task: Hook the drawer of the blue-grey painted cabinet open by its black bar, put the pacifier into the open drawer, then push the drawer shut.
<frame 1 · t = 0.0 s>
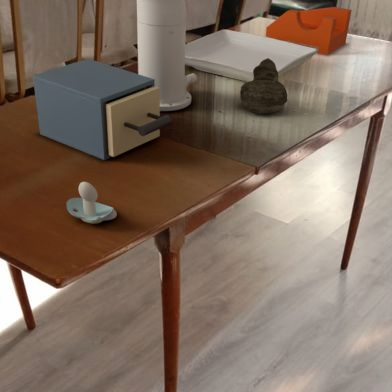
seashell: (258, 111, 130), on the table
square plate: (243, 66, 152), on the table
pacifier: (94, 218, 95), on the table
cabinet: (97, 135, 117), on the table
tape dispenser: (305, 43, 169), on the table
drawer: (114, 114, 112), point 5 cm above the table, slide at 0.5 cm
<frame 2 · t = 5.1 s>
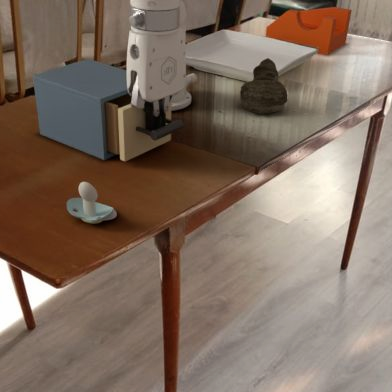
hand: (155, 135, 108), 4 cm above the table, tool pointing down, fingers closed
drawer: (126, 118, 111), point 5 cm above the table, slide at 3.2 cm
everything else where it was.
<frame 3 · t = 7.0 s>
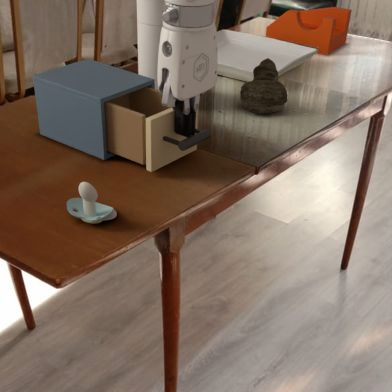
hand: (184, 133, 105), 6 cm above the table, tool pointing down, fingers closed
drawer: (151, 127, 108), point 5 cm above the table, slide at 9.2 cm
everything else where it was.
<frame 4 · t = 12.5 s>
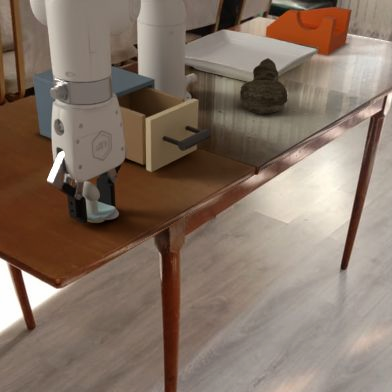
hand: (92, 211, 94), 1 cm above the table, tool pointing down, fingers closed on pacifier, 5 cm apart
pacifier: (96, 217, 95), on the table, touching gripper
everything else where it was.
when the fingers open (9 cm above the table, at t = 18.2 s): pacifier drops 6 cm, resting on drawer.
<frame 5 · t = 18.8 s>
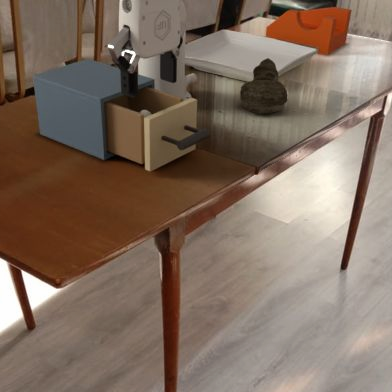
hand: (149, 88, 104), 12 cm above the table, tool pointing down, fingers open, 9 cm apart
pacifier: (150, 144, 111), point 2 cm above the table, touching drawer
drawer: (150, 127, 108), point 5 cm above the table, slide at 8.9 cm, touching pacifier
everything else where it was.
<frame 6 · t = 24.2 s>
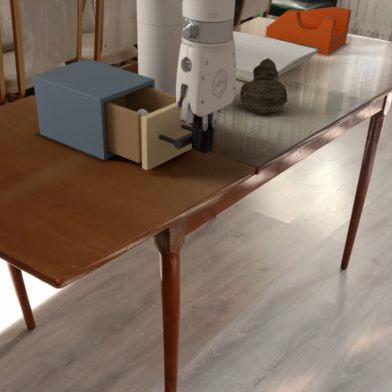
hand: (202, 149, 104), 5 cm above the table, tool pointing down, fingers closed
drawer: (147, 126, 108), point 5 cm above the table, slide at 8.3 cm, touching gripper, pacifier
everything else where it was.
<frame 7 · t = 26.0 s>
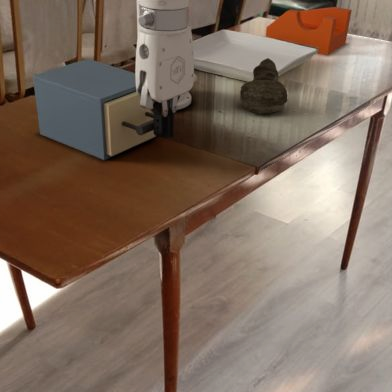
hand: (163, 135, 107), 5 cm above the table, tool pointing down, fingers closed
pacifier: (113, 130, 115), point 2 cm above the table, touching drawer
drawer: (112, 113, 112), point 5 cm above the table, slide at 0.0 cm, touching cabinet, gripper, pacifier
everything else where it was.
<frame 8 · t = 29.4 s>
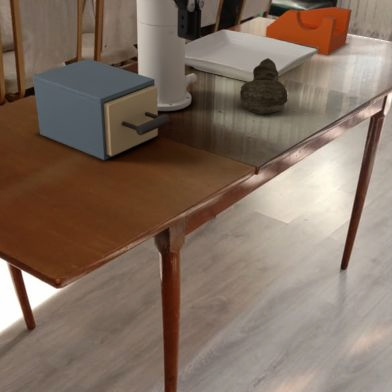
hand: (188, 37, 94), 21 cm above the table, tool pointing down, fingers closed
drawer: (112, 113, 112), point 5 cm above the table, slide at 0.0 cm, touching pacifier
everything else where it was.
at the end: drawer pulled out 9.5 cm at the most during the clip, back to where it started at the end; pacifier inside the target area in the cabinet (2.7 cm from its centre), point 1.8 cm above the cabinet's base; drawer slide at 0.0 cm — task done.
